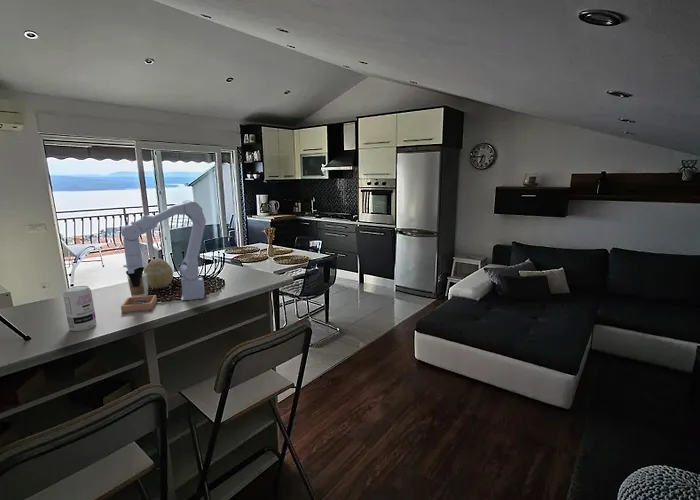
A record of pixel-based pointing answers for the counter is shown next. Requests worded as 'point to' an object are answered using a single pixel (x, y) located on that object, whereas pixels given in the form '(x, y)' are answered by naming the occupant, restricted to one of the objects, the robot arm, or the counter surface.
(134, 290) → the tall brown plank
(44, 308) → the counter surface
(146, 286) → the white cup
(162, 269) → the fossilized egg
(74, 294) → the supplement can
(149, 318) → the counter surface
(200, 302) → the counter surface
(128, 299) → the shallow square frame box
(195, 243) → the robot arm
